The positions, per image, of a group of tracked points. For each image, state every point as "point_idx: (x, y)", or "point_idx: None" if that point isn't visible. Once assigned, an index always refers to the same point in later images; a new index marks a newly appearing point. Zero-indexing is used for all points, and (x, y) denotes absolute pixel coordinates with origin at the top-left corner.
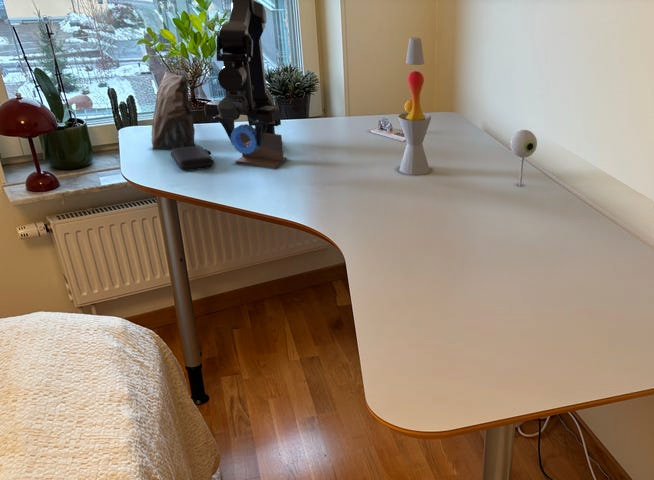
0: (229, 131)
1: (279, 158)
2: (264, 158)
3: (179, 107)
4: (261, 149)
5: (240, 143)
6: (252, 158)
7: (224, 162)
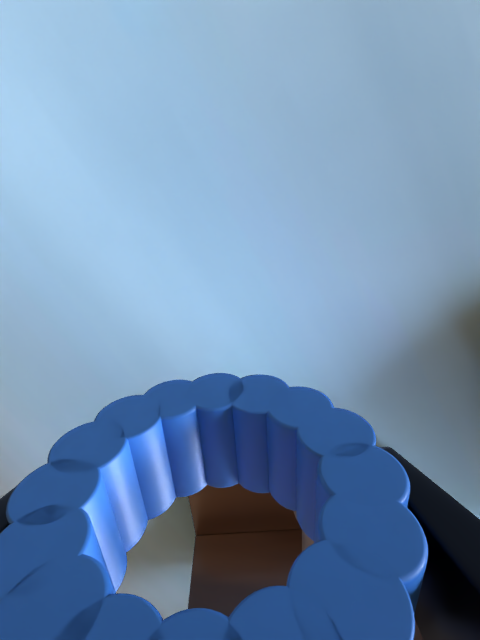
0: (477, 590)
1: (203, 544)
2: (282, 531)
3: None
4: None
5: (286, 468)
6: None
7: (463, 456)
